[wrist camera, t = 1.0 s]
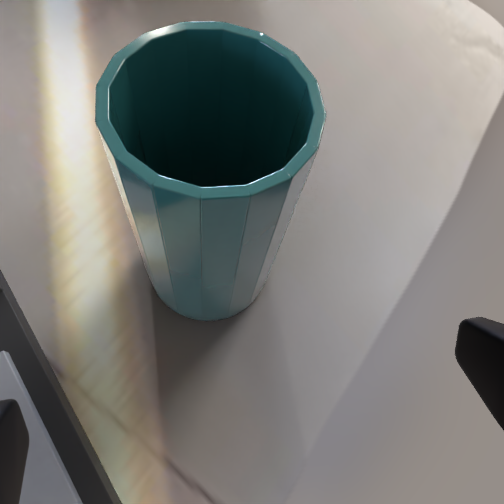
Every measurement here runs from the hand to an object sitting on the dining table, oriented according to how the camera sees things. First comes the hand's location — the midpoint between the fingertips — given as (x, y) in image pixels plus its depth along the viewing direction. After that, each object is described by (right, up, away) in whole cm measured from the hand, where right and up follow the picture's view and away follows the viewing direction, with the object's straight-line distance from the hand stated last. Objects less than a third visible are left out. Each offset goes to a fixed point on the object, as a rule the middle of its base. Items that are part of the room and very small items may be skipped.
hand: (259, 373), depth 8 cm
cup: (-3, +2, +16) cm, 16 cm away
